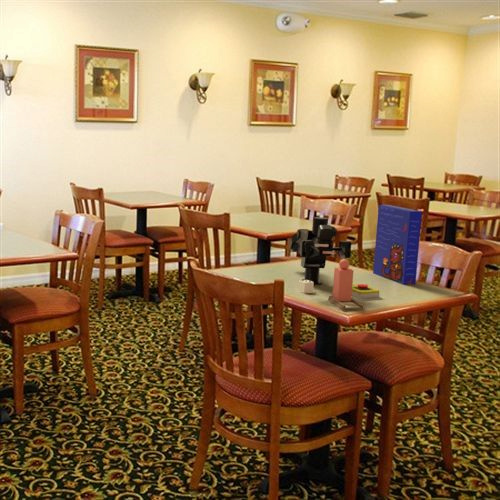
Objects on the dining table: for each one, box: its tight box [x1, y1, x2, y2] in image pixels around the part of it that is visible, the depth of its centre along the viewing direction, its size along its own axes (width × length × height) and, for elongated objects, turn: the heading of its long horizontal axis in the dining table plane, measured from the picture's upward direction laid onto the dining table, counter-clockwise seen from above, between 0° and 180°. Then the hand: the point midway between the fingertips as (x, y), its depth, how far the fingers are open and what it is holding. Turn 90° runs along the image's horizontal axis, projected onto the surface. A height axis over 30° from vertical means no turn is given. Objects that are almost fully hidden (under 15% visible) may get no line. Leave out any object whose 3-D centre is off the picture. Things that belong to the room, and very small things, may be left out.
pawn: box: [331, 258, 354, 301], centre depth 234 cm, size 5×5×15 cm
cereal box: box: [372, 204, 423, 286], centre depth 278 cm, size 22×6×30 cm, turn 23°
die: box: [297, 279, 315, 294], centre depth 249 cm, size 4×4×4 cm
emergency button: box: [351, 283, 383, 301], centre depth 249 cm, size 9×4×15 cm
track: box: [327, 295, 365, 312], centre depth 232 cm, size 14×8×2 cm, turn 15°
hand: (331, 253), depth 238 cm, fingers open, 9 cm apart
